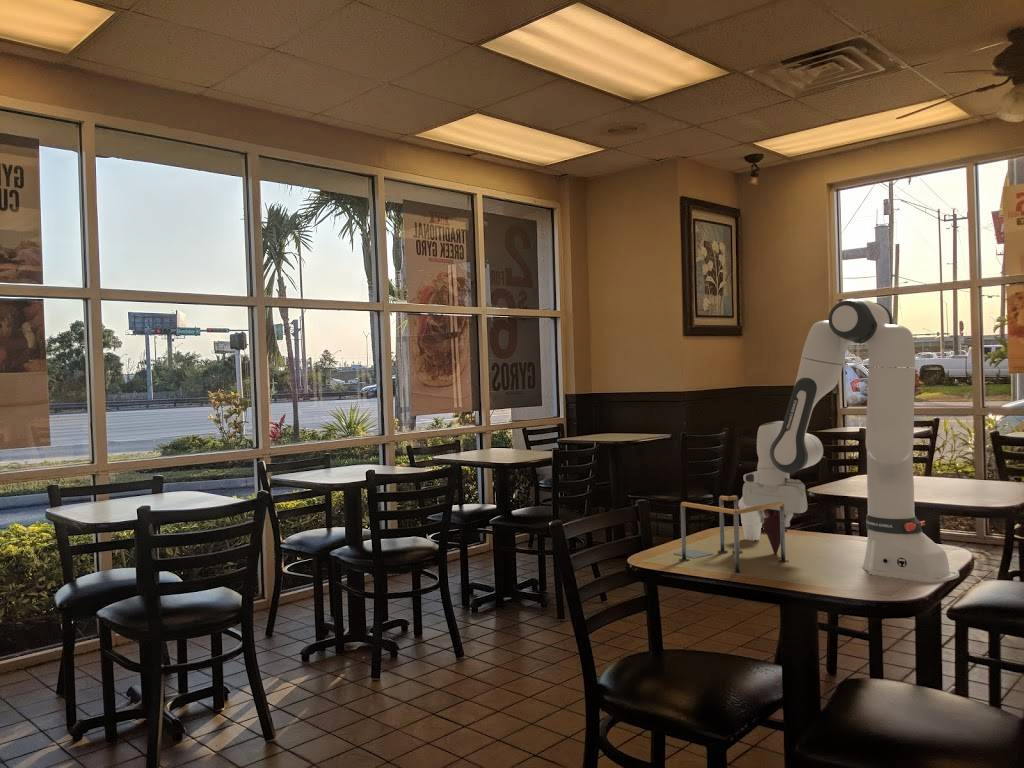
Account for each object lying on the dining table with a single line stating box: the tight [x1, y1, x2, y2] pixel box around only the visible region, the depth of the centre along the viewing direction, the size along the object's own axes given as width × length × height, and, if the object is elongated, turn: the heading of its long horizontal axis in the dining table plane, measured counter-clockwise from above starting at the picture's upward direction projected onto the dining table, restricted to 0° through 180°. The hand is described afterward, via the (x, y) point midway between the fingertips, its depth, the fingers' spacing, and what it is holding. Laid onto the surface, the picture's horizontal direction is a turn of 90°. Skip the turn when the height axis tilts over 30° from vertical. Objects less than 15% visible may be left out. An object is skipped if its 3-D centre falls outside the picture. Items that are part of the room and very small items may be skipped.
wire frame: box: [678, 495, 789, 574], centre depth 223 cm, size 21×21×17 cm
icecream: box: [761, 509, 788, 555], centre depth 231 cm, size 7×7×15 cm
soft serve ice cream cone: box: [738, 496, 762, 542], centre depth 253 cm, size 8×8×16 cm
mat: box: [673, 549, 714, 559], centre depth 234 cm, size 8×8×1 cm
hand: (774, 524), depth 231 cm, fingers closed on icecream, 6 cm apart
